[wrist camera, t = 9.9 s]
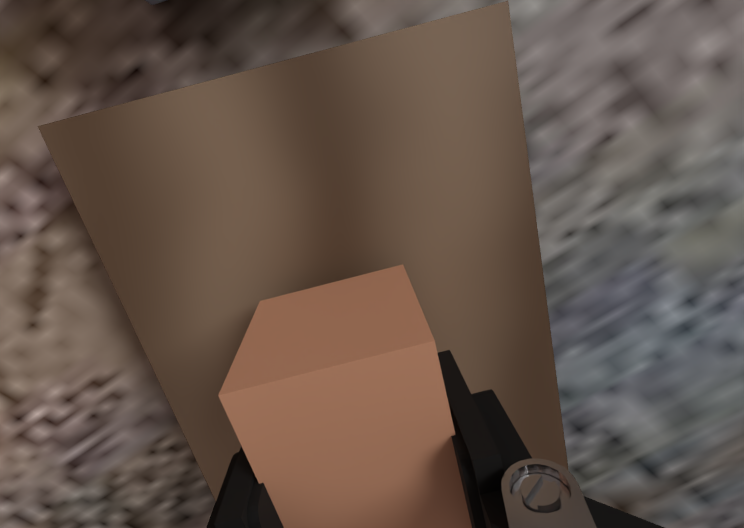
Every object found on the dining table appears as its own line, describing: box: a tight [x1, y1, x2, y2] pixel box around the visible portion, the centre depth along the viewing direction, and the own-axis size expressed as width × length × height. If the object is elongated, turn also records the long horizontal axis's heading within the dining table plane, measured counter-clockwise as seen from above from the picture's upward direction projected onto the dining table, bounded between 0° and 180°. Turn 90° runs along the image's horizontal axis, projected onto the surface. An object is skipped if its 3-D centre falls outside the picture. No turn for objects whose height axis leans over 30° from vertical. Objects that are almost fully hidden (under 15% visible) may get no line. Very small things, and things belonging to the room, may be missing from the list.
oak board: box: [38, 1, 568, 501], centre depth 14 cm, size 12×19×2 cm, turn 14°
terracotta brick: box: [218, 264, 472, 528], centre depth 10 cm, size 7×4×4 cm, turn 15°
